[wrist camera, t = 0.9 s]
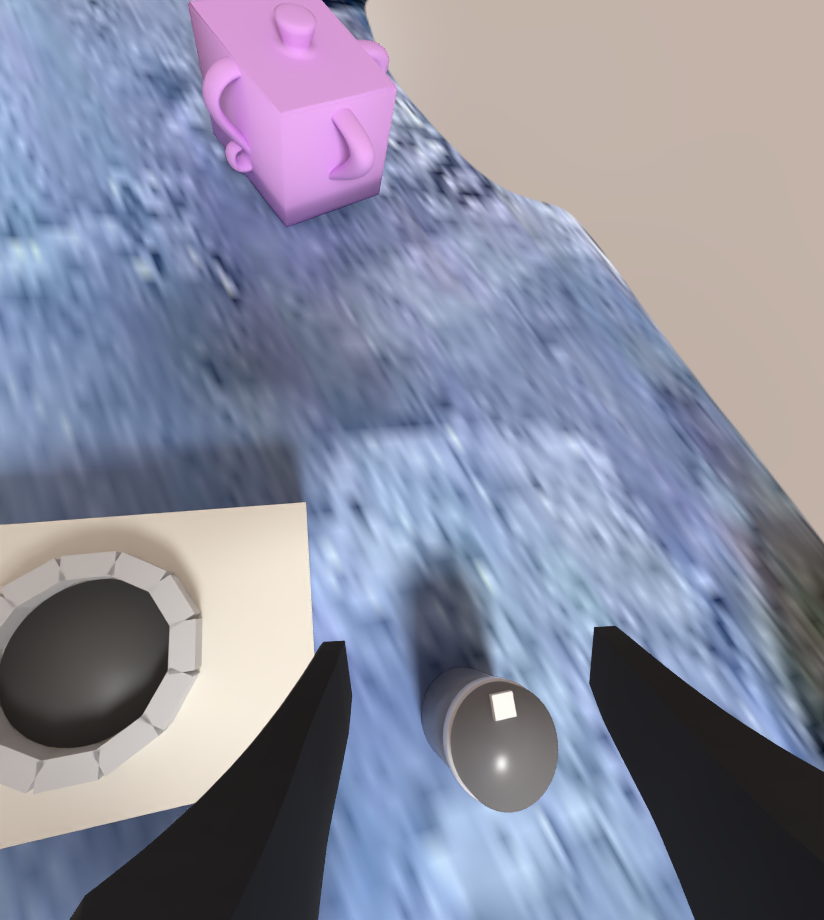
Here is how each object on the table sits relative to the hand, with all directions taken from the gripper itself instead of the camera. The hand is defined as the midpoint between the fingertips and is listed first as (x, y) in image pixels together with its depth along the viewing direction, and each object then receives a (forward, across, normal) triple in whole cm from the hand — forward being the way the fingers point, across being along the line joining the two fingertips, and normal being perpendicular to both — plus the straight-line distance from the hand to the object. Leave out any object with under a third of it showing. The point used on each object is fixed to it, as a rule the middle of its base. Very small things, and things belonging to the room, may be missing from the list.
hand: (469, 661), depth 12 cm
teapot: (+31, +9, -22) cm, 39 cm away
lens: (+9, 0, +12) cm, 15 cm away
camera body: (+8, +16, +6) cm, 19 cm away
